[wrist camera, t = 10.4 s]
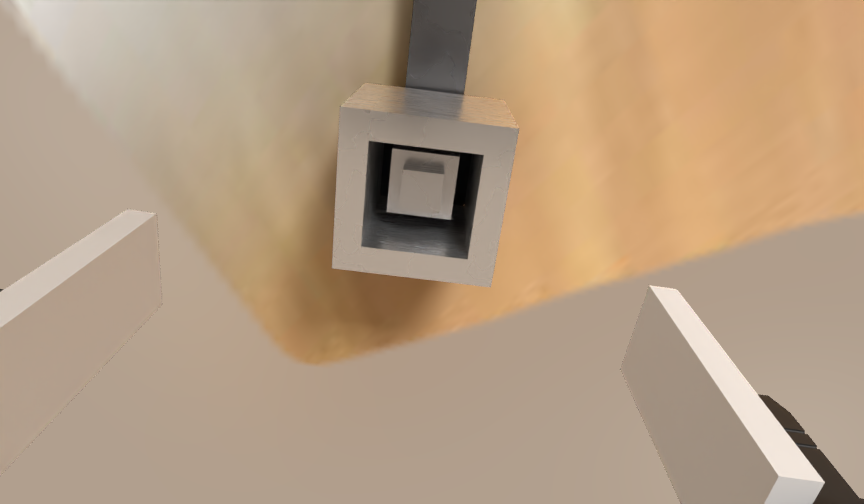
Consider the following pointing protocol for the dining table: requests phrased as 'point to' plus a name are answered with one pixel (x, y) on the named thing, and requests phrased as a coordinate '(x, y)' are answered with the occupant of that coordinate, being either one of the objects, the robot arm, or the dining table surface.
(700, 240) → the dining table surface
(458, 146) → the socket
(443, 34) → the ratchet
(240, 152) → the dining table surface
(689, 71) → the dining table surface
